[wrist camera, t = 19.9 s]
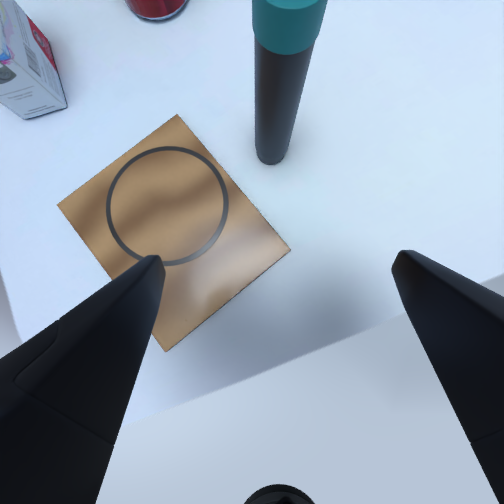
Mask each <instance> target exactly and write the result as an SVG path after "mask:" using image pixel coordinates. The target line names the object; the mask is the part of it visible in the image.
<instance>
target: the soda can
mask: <svg viewBox="0 0 504 504" xmlns="http://www.w3.org/2000/svg"><path fill="white" fill-rule="evenodd" d="M125 2H126V4H127V6H128V7H129V8H130V9H131V10H132V11H133V12H135V13H136V14H137V15H139V16H141V17H143V18H145V19H149V20H164V19H167V18H170V17H172V16H173V15H175V14H176V13H177V12H179V10H180V9H181V8H182V7H183V5H184V4H185V2H186V0H125Z"/></svg>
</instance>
